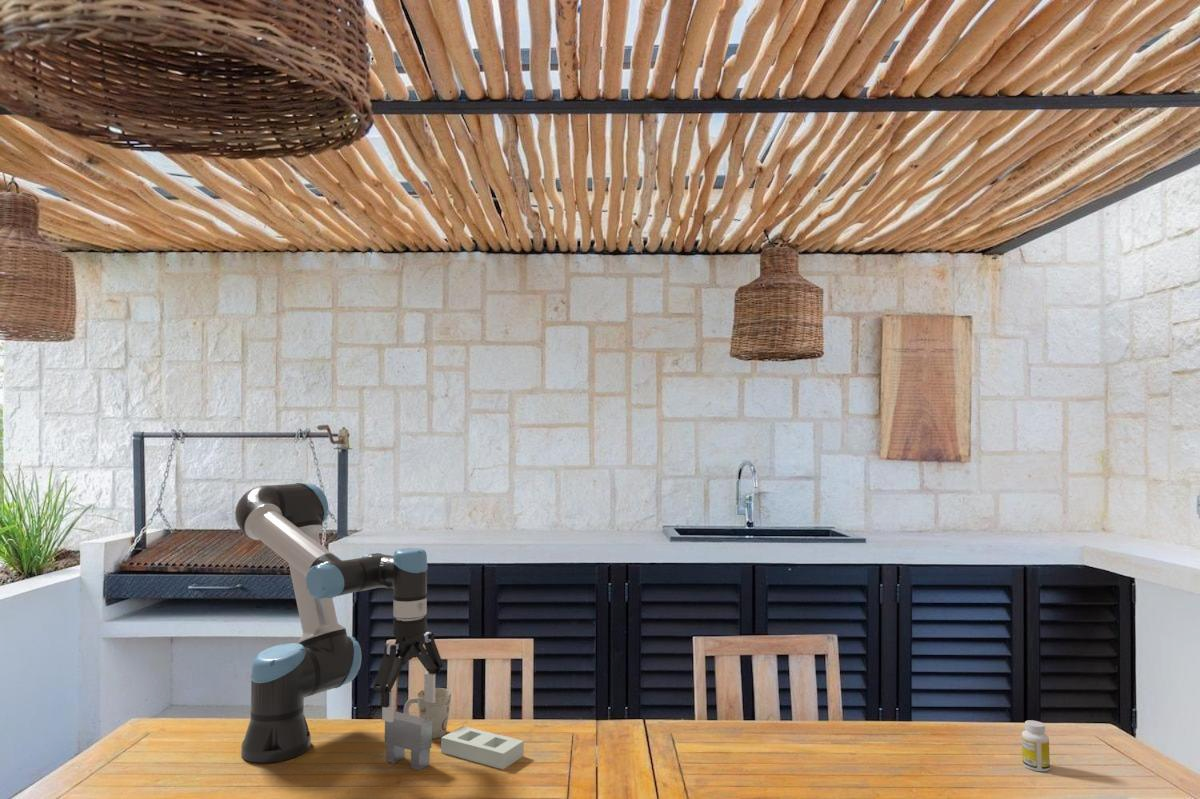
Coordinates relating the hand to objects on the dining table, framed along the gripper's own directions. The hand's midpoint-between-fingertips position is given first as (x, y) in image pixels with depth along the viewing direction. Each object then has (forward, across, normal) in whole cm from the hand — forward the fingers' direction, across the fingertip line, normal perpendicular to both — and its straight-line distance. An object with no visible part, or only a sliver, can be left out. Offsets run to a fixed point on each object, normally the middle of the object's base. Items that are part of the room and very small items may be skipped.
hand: (409, 711), depth 171 cm
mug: (+12, +15, +9) cm, 21 cm away
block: (+12, +12, -11) cm, 20 cm away
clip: (+12, 0, +1) cm, 12 cm away
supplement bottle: (+14, +69, -125) cm, 144 cm away
